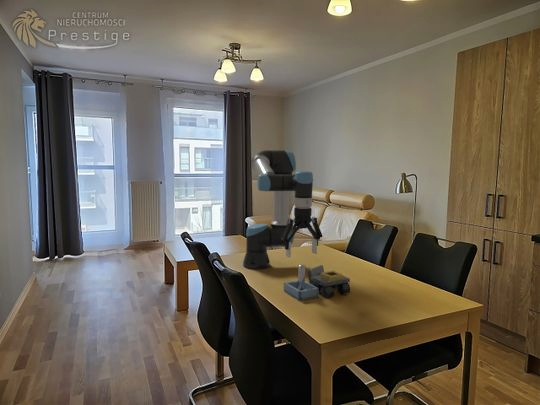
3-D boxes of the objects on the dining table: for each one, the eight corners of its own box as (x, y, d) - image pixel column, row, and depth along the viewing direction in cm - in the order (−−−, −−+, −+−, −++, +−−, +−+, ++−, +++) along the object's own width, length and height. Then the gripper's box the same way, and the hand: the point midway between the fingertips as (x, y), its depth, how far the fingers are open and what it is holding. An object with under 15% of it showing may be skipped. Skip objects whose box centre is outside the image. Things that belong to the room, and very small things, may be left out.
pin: (296, 291, 161) (297, 265, 160) (301, 290, 163) (302, 264, 161) (299, 293, 159) (300, 267, 157) (305, 292, 160) (306, 266, 159)
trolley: (308, 290, 166) (309, 271, 165) (332, 285, 173) (333, 267, 172) (326, 300, 154) (327, 279, 153) (351, 294, 161) (352, 275, 160)
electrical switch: (315, 289, 168) (314, 269, 167) (306, 287, 171) (305, 268, 171) (326, 284, 175) (325, 265, 174) (318, 282, 178) (317, 264, 178)
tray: (283, 291, 164) (283, 282, 164) (302, 288, 169) (302, 279, 168) (299, 301, 153) (299, 291, 152) (318, 297, 158) (318, 288, 157)
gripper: (282, 210, 147) (281, 260, 150) (331, 206, 159) (329, 253, 162) (273, 207, 154) (272, 255, 157) (321, 204, 166) (319, 249, 169)
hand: (301, 254), depth 159 cm, fingers open, 13 cm apart
